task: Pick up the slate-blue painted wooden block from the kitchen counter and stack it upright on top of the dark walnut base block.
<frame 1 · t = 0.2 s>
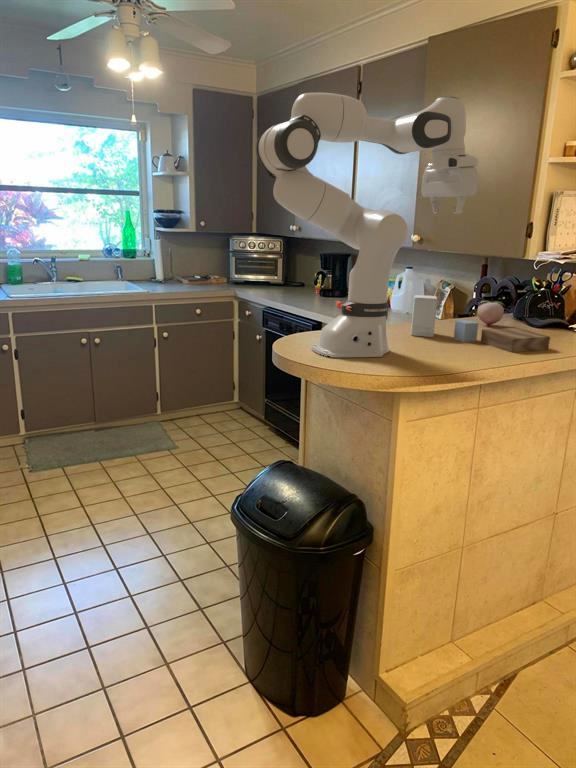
hand: (447, 213, 165), 39 cm above the table, tool pointing down, fingers open, 8 cm apart
slate block: (464, 340, 185), on the table
supplement box: (421, 334, 192), on the table
walnut base: (513, 345, 179), on the table
decorative fruit: (489, 326, 211), on the table
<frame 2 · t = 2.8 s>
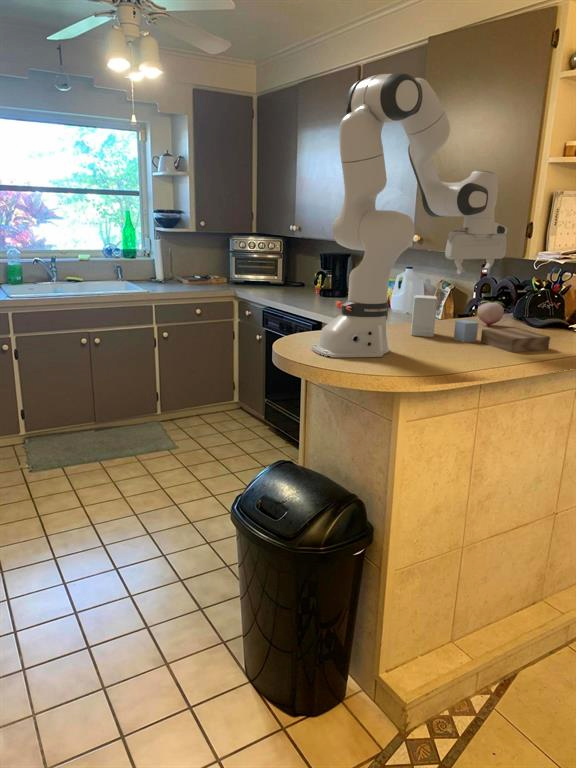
hand: (473, 273, 179), 21 cm above the table, tool pointing down, fingers open, 8 cm apart
nothing on the table moved.
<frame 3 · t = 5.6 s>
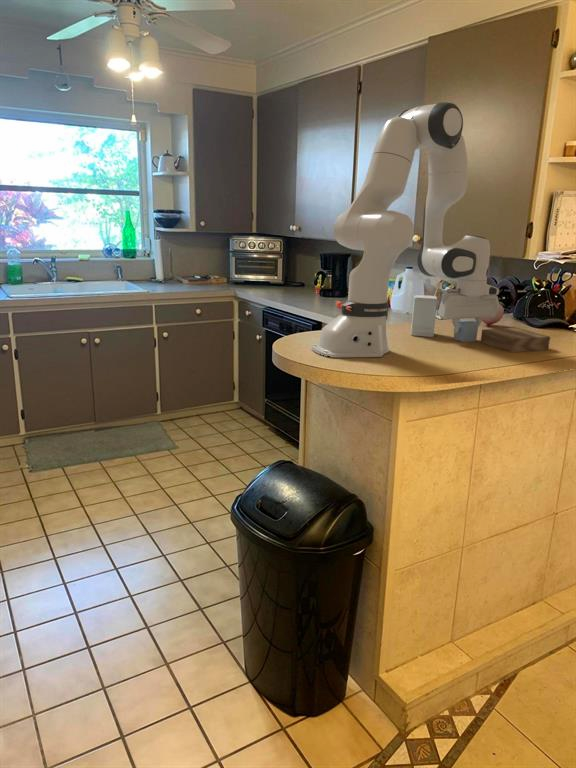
hand: (465, 331, 185), 3 cm above the table, tool pointing down, fingers closed on slate block, 5 cm apart
slate block: (464, 339, 185), on the table, touching gripper
everything else where it was.
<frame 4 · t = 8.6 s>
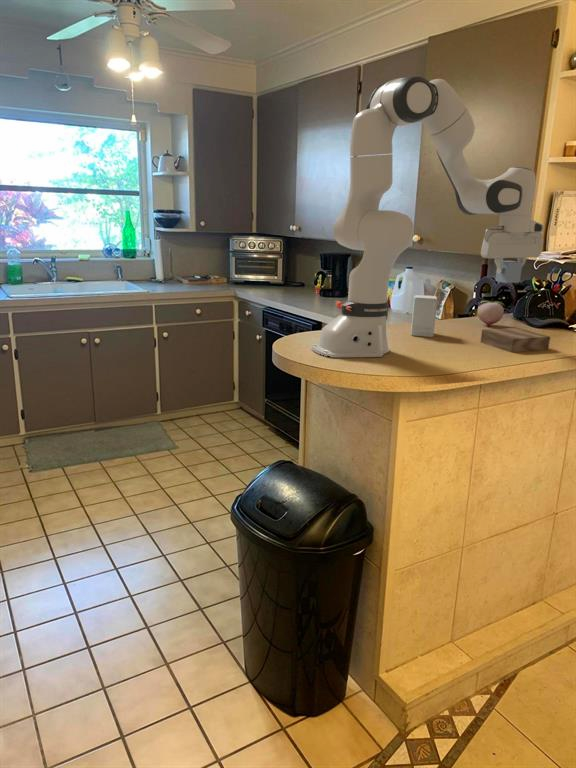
hand: (508, 273, 175), 22 cm above the table, tool pointing down, fingers closed on slate block, 5 cm apart
slate block: (507, 281, 176), point 19 cm above the table, touching gripper
everything else where it was.
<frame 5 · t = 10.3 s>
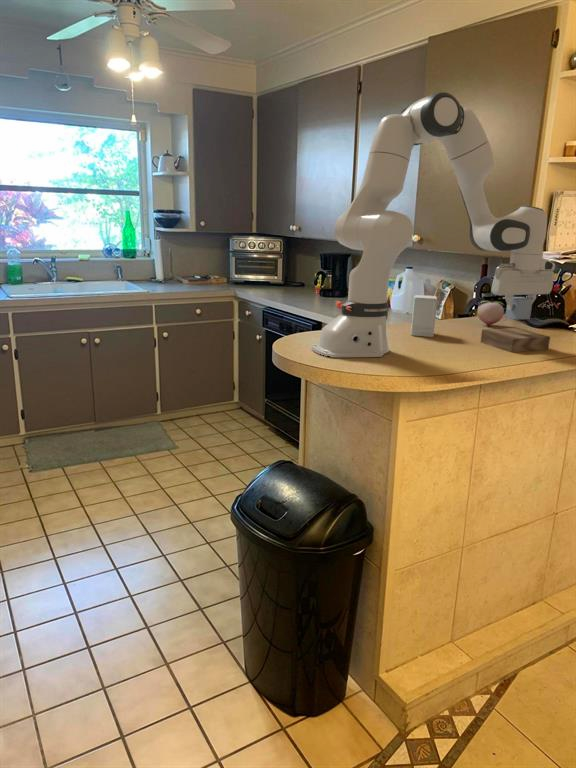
hand: (518, 309, 176), 11 cm above the table, tool pointing down, fingers closed on slate block, 5 cm apart
slate block: (517, 317, 177), point 9 cm above the table, touching gripper
everything else where it was.
when the fingers open (8 cm above the table, at t = 11.7 s): slate block drops 1 cm, resting on walnut base.
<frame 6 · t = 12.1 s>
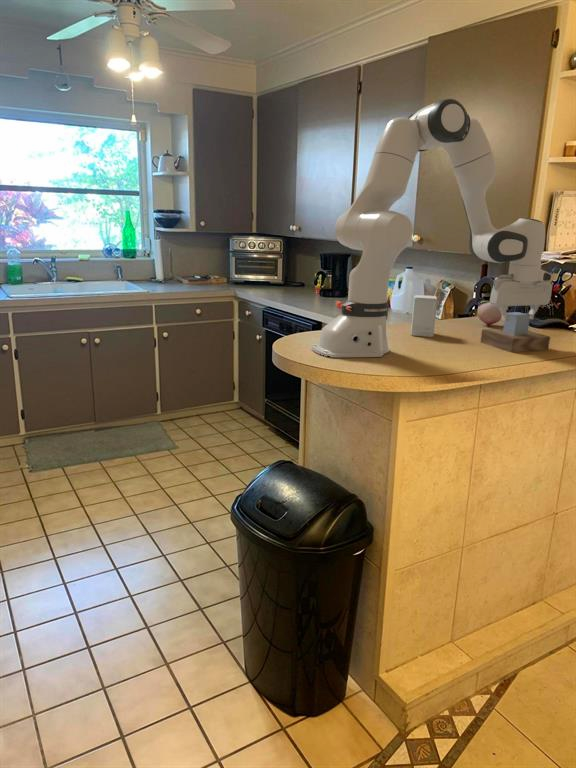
hand: (517, 320, 177), 8 cm above the table, tool pointing down, fingers open, 8 cm apart
slate block: (515, 333, 178), point 4 cm above the table, touching walnut base
everything else where it was.
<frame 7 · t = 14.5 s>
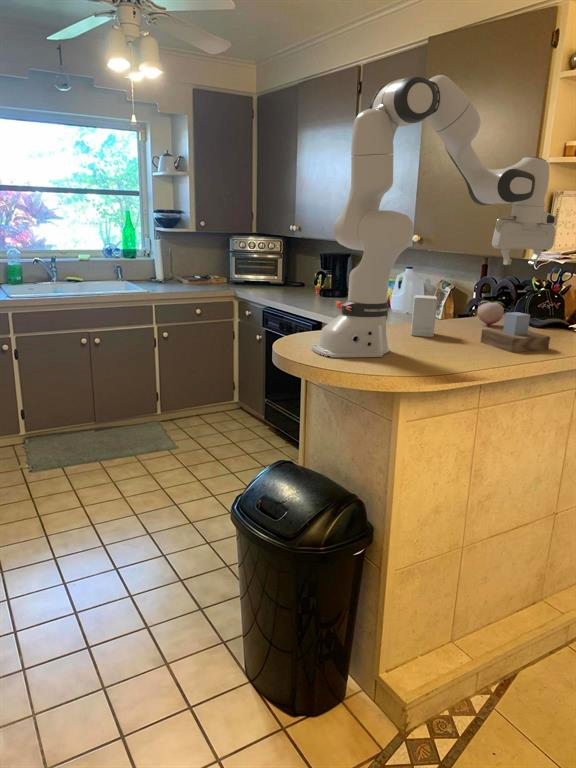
hand: (519, 264, 173), 25 cm above the table, tool pointing down, fingers open, 8 cm apart
nothing on the table moved.
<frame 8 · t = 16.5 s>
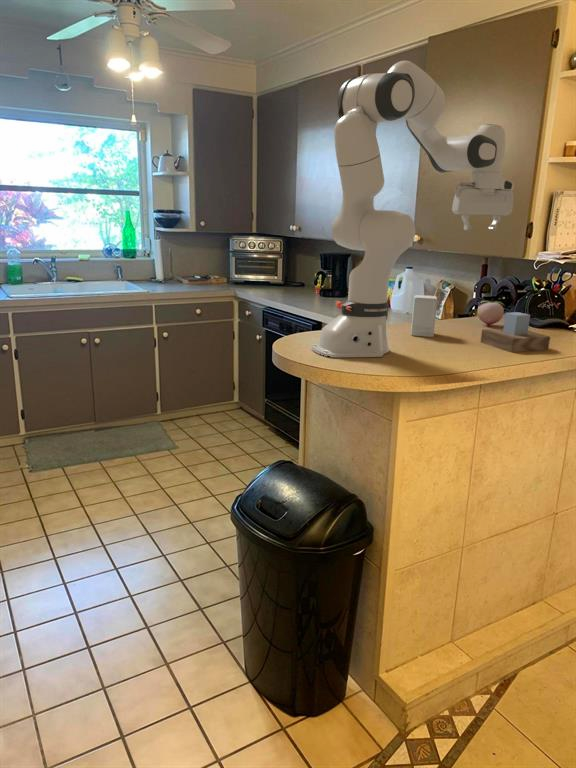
hand: (479, 230, 179), 34 cm above the table, tool pointing down, fingers open, 8 cm apart
nothing on the table moved.
at the end: slate block inside the target area on the walnut base (0.1 cm from its centre), point 4.0 cm above the walnut base's base; slate block tilted 0°; the gripper is holding nothing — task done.
